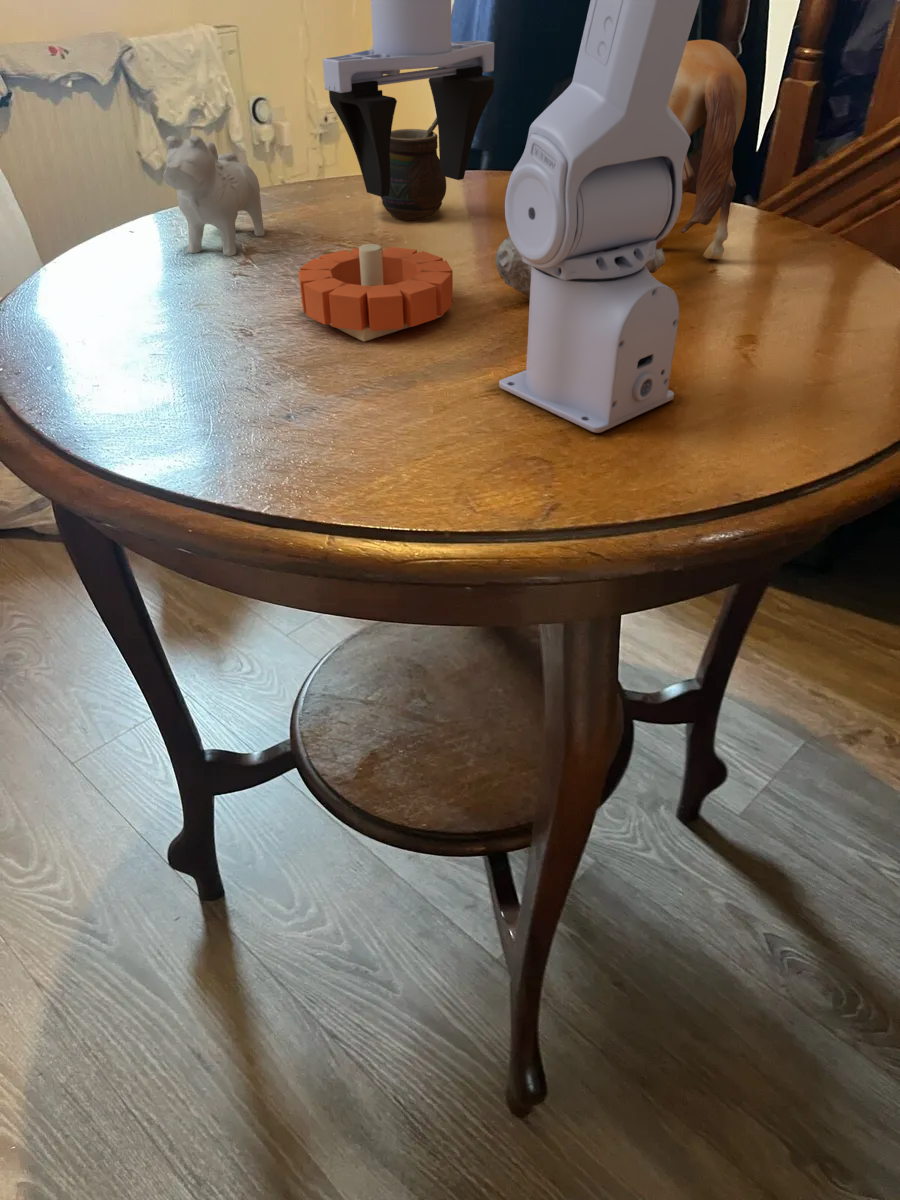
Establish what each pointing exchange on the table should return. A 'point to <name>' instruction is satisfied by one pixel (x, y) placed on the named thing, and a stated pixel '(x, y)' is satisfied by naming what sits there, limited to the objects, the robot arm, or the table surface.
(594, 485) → the table surface
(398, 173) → the mate gourd
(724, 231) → the horse figurine
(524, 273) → the seashell
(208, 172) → the dog figurine
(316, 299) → the ring
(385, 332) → the stand
